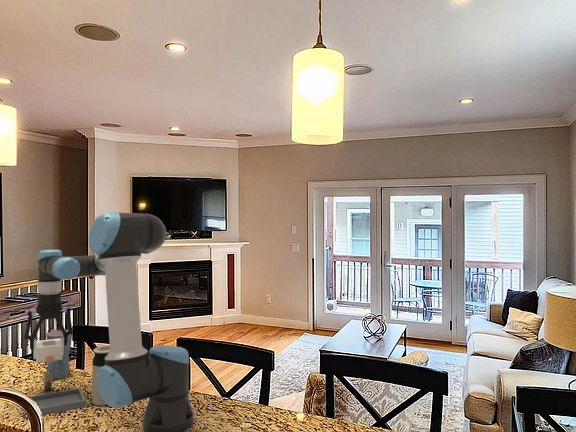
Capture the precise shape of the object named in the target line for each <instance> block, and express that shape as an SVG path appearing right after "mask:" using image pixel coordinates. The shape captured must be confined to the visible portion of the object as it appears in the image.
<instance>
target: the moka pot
mask: <svg viewBox="0 0 576 432" xmlns="http://www.w3.org/2000/svg"><path fill="white" fill-rule="evenodd" d="M65 330H66V332H67V331H68V329H65ZM73 334H74V333H73ZM73 334H70V335H68V336H67V345H64V355H63V359H62V360H55V361H54V362H48V363H47V365H46V369H45V370H46V371H45V372H47V371H52V381H57V380H64V379H65V378H66V379H67V378H68V377H70V375H71V369H70V357H69V355H70V351H71V345H72V340H73ZM61 336H63V333H62V331H61V329H60V327H59V325H58V326H57V330H56V329H54V328H52V327H49V329H48V330H47V332H46V340H50V339H58V338H60V339H61Z"/></svg>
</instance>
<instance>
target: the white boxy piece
mask: <svg viewBox="0 0 576 432" xmlns="http://www.w3.org/2000/svg"><path fill="white" fill-rule="evenodd" d="M62 359H63V345H62V342H61V339H60V338H58V339H50V340H47V339H42V340H36V359H35V362H36V364H39V363H45V364H46V363H47V364H48V362H54V361H55V360H62Z"/></svg>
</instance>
